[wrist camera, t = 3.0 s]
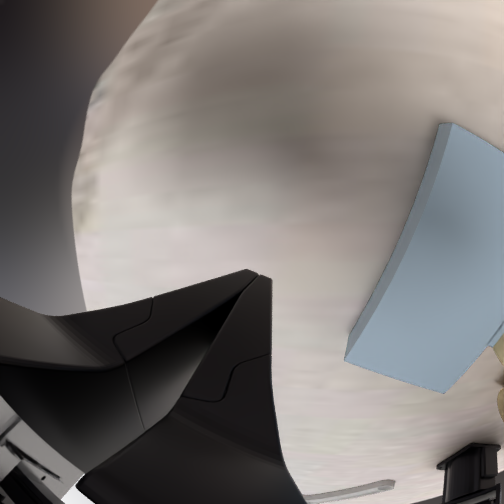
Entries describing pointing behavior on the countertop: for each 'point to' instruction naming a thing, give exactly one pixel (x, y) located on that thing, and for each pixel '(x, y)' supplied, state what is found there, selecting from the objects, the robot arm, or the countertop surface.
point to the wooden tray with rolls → (501, 403)
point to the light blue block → (441, 272)
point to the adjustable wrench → (351, 492)
